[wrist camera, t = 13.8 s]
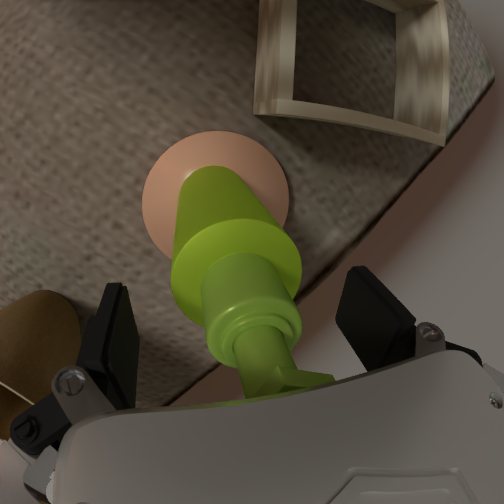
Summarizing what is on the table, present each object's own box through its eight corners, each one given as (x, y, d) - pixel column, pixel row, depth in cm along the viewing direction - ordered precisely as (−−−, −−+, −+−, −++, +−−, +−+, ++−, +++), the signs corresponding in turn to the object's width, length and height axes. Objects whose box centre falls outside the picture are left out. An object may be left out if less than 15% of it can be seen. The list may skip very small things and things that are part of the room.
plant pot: (133, 336, 30) (120, 461, 16) (58, 367, 30) (34, 463, 16) (53, 233, 23) (-32, 343, 9) (-12, 288, 23) (-70, 378, 9)
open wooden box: (261, -33, 15) (284, -69, 9) (401, 10, 18) (443, -1, 12) (252, 114, 22) (276, 113, 16) (398, 135, 25) (444, 146, 19)
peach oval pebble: (141, 133, 21) (138, 133, 20) (290, 133, 24) (295, 134, 23) (150, 269, 27) (149, 275, 26) (278, 262, 29) (282, 268, 28)
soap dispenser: (162, 225, 24) (138, 463, 6) (198, 153, 22) (239, 315, 4) (221, 250, 26) (287, 471, 9) (259, 184, 24) (420, 360, 7)
